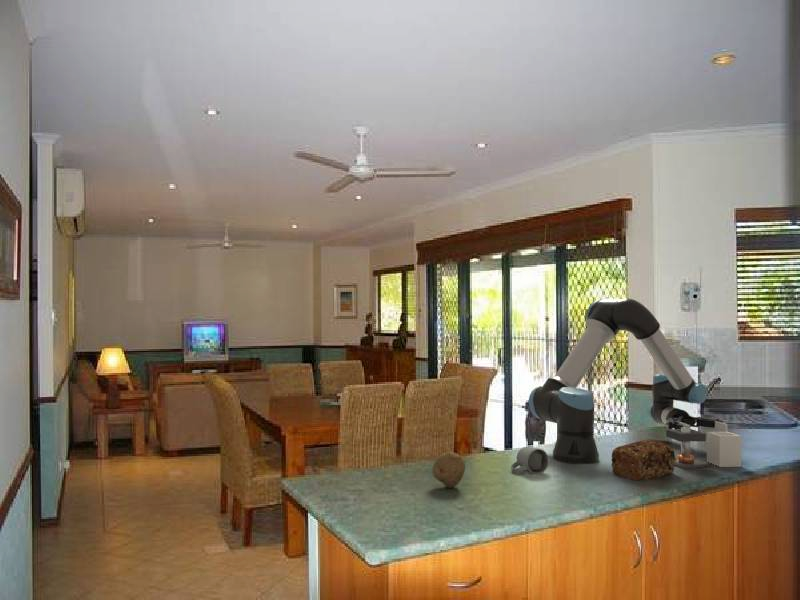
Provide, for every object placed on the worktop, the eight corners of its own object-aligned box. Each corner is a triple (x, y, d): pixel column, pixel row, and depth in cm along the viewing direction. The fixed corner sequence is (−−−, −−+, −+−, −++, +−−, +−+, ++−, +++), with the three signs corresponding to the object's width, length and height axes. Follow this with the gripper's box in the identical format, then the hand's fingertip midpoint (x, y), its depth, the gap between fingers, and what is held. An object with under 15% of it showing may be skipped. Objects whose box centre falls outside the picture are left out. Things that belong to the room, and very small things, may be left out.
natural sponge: (438, 492, 184) (438, 456, 184) (428, 484, 193) (428, 449, 193) (469, 490, 186) (469, 454, 187) (458, 482, 195) (458, 448, 195)
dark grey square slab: (679, 441, 217) (680, 434, 217) (666, 436, 226) (666, 429, 226) (705, 441, 218) (705, 433, 218) (691, 436, 227) (691, 428, 227)
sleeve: (719, 467, 218) (719, 436, 218) (706, 461, 226) (706, 431, 226) (741, 466, 219) (741, 435, 219) (727, 461, 226) (727, 431, 227)
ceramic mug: (535, 467, 215) (534, 443, 215) (549, 473, 208) (549, 448, 208) (505, 470, 212) (505, 445, 212) (519, 476, 204) (518, 451, 204)
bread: (647, 467, 217) (647, 436, 217) (677, 474, 208) (677, 442, 208) (609, 475, 207) (609, 442, 207) (639, 482, 198) (639, 448, 198)
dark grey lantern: (687, 469, 215) (687, 431, 215) (662, 462, 224) (662, 426, 224) (709, 466, 219) (709, 429, 219) (683, 459, 228) (683, 424, 228)
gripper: (707, 427, 255) (742, 438, 234) (644, 429, 252) (673, 440, 231) (707, 407, 255) (741, 417, 234) (644, 409, 252) (673, 418, 231)
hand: (708, 428), depth 232 cm, fingers open, 13 cm apart
